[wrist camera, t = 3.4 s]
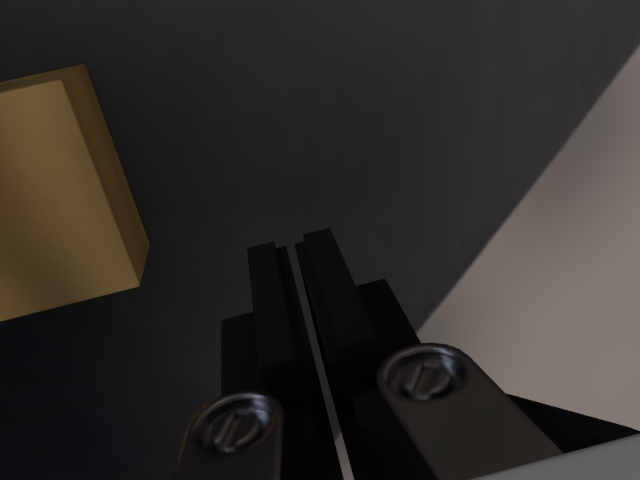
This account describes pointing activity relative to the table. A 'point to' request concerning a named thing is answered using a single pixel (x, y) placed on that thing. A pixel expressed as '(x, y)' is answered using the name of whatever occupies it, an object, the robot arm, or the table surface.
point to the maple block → (62, 198)
